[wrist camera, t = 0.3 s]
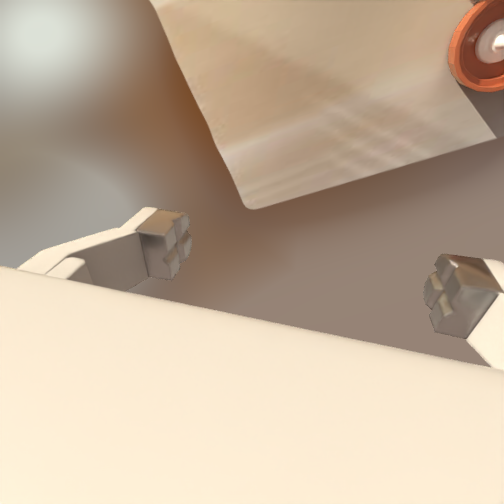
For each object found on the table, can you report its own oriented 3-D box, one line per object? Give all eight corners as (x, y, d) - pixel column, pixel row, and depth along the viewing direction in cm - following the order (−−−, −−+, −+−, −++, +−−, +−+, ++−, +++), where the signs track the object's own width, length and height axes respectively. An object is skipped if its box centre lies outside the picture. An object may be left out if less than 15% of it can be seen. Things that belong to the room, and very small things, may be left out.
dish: (469, -15, 38) (479, -19, 35) (571, -14, 36) (589, -18, 33) (434, 85, 44) (440, 88, 42) (519, 91, 42) (530, 95, 40)
